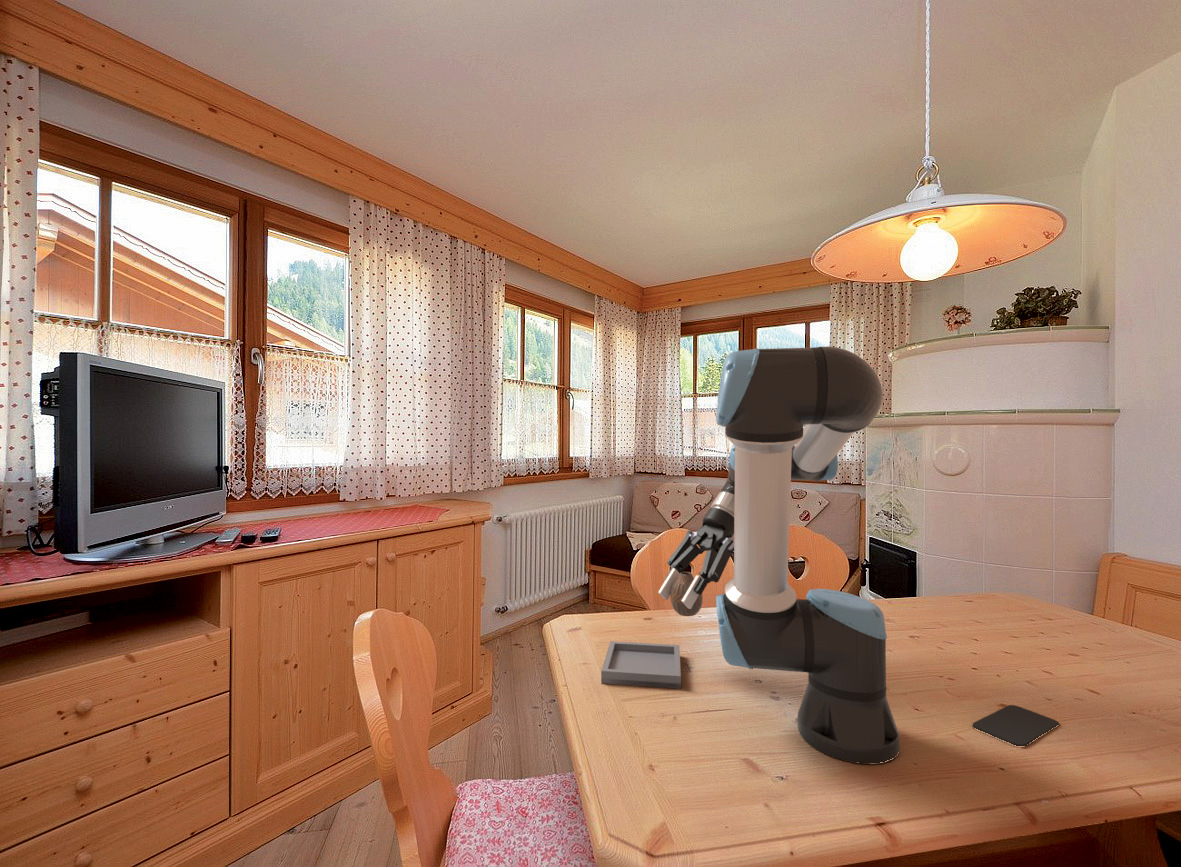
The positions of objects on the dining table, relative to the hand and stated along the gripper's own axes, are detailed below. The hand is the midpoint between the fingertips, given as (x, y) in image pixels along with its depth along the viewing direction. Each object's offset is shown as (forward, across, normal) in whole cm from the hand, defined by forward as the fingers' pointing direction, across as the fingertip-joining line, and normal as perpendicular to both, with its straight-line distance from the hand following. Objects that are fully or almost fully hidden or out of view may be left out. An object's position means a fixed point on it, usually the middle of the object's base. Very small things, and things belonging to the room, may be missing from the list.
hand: (673, 600), depth 110 cm
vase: (0, 0, -5) cm, 5 cm away
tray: (+14, +5, -7) cm, 17 cm away
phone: (-12, -48, -36) cm, 62 cm away
